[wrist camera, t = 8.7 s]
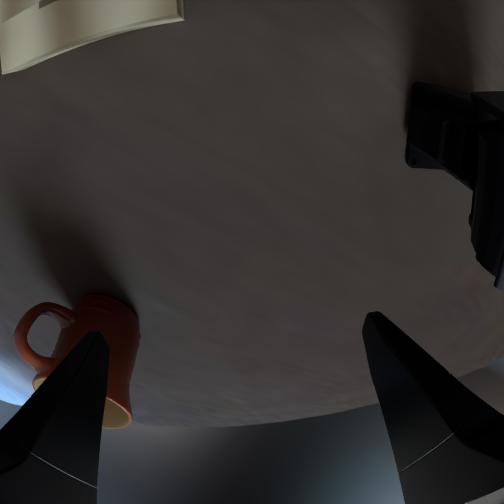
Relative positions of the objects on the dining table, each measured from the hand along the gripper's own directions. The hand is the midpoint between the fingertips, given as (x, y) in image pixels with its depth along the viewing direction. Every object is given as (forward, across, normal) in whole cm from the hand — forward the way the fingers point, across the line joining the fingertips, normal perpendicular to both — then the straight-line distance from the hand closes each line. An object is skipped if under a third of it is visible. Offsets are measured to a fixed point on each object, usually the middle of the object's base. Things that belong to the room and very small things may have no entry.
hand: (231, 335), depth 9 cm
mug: (+13, +14, +11) cm, 22 cm away
